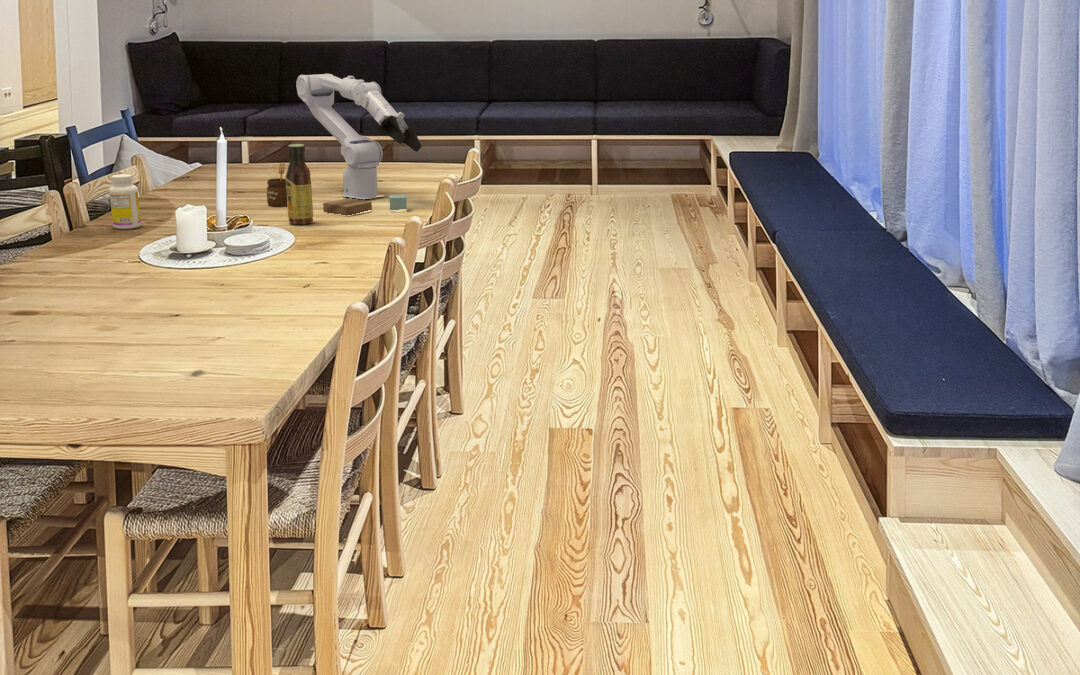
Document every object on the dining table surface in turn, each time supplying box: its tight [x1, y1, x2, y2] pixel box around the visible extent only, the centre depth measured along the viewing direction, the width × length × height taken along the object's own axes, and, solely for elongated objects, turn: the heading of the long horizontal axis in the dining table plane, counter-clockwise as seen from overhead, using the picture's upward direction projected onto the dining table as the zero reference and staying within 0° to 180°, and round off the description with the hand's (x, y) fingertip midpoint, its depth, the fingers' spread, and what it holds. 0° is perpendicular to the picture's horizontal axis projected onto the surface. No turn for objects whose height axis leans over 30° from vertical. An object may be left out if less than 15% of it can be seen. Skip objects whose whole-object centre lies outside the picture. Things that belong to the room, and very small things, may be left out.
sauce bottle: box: [285, 143, 314, 226], centre depth 279 cm, size 6×6×20 cm
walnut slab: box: [322, 198, 373, 217], centre depth 296 cm, size 9×9×3 cm
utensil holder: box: [266, 162, 287, 208], centre depth 303 cm, size 6×6×12 cm
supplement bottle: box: [108, 173, 142, 230], centre depth 274 cm, size 7×7×13 cm
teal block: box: [389, 194, 408, 211], centre depth 298 cm, size 4×4×4 cm
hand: (410, 145), depth 297 cm, fingers open, 7 cm apart
